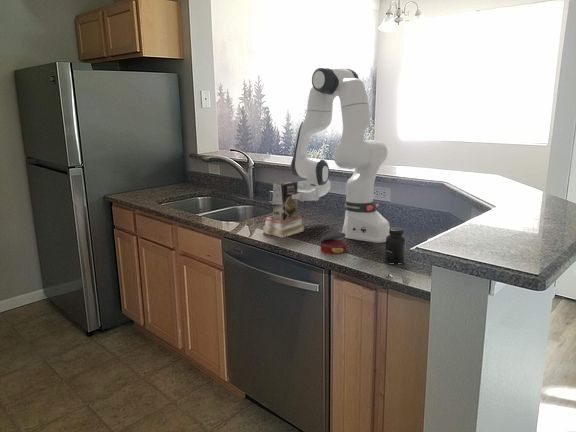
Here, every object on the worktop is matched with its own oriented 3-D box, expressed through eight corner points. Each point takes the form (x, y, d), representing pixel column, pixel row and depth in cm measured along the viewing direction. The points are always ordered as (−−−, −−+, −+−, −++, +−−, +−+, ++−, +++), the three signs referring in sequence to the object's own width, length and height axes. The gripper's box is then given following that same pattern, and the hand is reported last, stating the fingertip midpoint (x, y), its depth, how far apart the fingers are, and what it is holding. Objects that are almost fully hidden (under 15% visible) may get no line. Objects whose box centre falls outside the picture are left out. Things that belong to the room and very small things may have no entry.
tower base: (303, 230, 199) (303, 215, 197) (282, 237, 189) (282, 222, 188) (284, 226, 206) (284, 212, 204) (263, 233, 196) (263, 217, 195)
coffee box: (283, 222, 191) (283, 184, 187) (272, 220, 195) (272, 182, 191) (298, 218, 197) (298, 181, 194) (287, 216, 202) (286, 180, 198)
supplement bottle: (383, 263, 158) (384, 230, 155) (386, 257, 164) (387, 225, 161) (403, 266, 155) (405, 232, 153) (405, 259, 162) (407, 227, 159)
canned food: (322, 264, 171) (310, 241, 170) (330, 254, 180) (318, 231, 179) (349, 255, 166) (336, 231, 164) (355, 244, 174) (343, 221, 173)
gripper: (285, 181, 209) (264, 185, 199) (321, 186, 196) (301, 191, 186) (286, 195, 211) (265, 199, 201) (321, 200, 198) (301, 206, 188)
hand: (282, 195), depth 193 cm, fingers open, 8 cm apart
